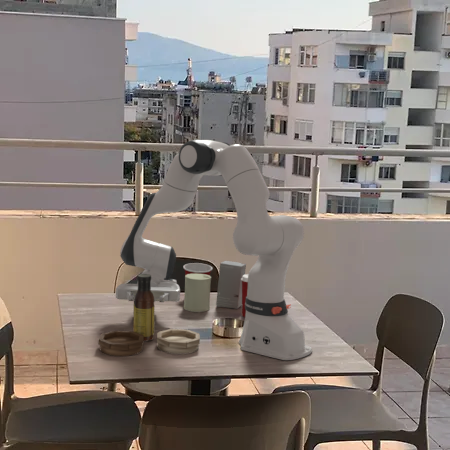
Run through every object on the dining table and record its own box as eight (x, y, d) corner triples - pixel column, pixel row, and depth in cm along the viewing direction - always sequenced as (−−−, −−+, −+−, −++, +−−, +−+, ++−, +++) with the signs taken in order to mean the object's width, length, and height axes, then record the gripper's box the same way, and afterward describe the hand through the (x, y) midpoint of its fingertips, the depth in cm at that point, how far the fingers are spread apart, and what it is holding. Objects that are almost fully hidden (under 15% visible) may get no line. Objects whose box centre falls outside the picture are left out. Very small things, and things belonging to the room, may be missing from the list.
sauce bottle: (143, 334, 223) (145, 271, 220) (158, 339, 219) (160, 275, 216) (128, 338, 218) (130, 274, 215) (142, 343, 214) (144, 278, 211)
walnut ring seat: (151, 350, 209) (152, 338, 209) (118, 359, 200) (118, 347, 200) (124, 339, 217) (124, 328, 217) (90, 348, 208) (90, 336, 208)
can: (209, 312, 251) (210, 278, 249) (182, 311, 251) (184, 277, 249) (210, 305, 260) (211, 272, 258) (184, 304, 260) (185, 271, 258)
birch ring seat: (207, 348, 213) (208, 336, 213) (177, 357, 204) (177, 345, 204) (178, 337, 222) (179, 326, 221) (148, 346, 213) (148, 334, 212)
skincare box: (215, 306, 258) (218, 263, 256) (221, 302, 265) (223, 259, 263) (238, 309, 256) (241, 265, 254) (244, 304, 263) (246, 262, 260)
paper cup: (259, 320, 245) (262, 279, 242) (237, 317, 246) (239, 277, 244) (263, 314, 252) (265, 274, 250) (241, 311, 254) (243, 272, 251)
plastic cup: (184, 301, 263) (185, 269, 261) (179, 294, 273) (181, 262, 271) (213, 301, 265) (215, 269, 263) (208, 294, 275) (209, 263, 274)
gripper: (118, 277, 235) (112, 287, 222) (181, 279, 236) (179, 290, 222) (117, 296, 236) (112, 307, 223) (180, 298, 237) (178, 310, 223)
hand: (146, 299), depth 222 cm, fingers open, 8 cm apart
